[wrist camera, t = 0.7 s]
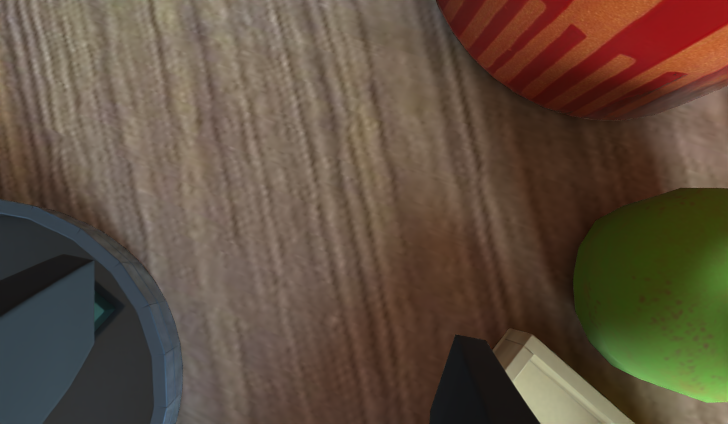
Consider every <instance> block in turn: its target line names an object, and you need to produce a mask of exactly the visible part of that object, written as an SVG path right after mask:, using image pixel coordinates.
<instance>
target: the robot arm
mask: <svg viewBox="0 0 728 424" xmlns="http://www.w3.org/2000/svg"><path fill="white" fill-rule="evenodd" d="M93 345H94V260H91V259H86V258H81V257H76V256H72V255H67V254H62V255H59V256H56V257H54V258H51V259H49V260H46V261H44V262H41V263H39V264H37V265H34V266H32V267H30V268H27V269H25V270H23V271H20V272H18V273H16V274H14V275H11V276H9V277H7V278H4V279H2V280H0V424H42V423H43V422H44V421H45V419H46V418H47V417H48V415H49V414H50V413H51V411H52V410H53V409H54V407H55V406H56V405H57V404H58V402H59V401H60V400H61V398H62V397H63V395H64V394H65V393H66V391H67V390H68V389H69V387H70V386H71V384H72V382H73V380H74V379H75V377H76V375H77V374H78V372H79V370H80V369H81V367H82V365H83V363H84V361H85V360H86V358H87V356H88V354H89V352H90V351H91V349H92V347H93ZM430 424H541V423H540V422H539V421H538V419H537V418H536V416H535V415H534V414H533V412H532V411H531V409H530V408H529V406H528V405H527V403H526V402H525V400H524V399H523V397H522V396H521V395H520V393H519V392H518V390H517V388H516V387H515V385H514V384H513V382H512V381H511V379H510V378H509V376H508V375H507V373H506V371H505V370H504V368H503V367H502V365H501V364H500V362H499V360H498V359H497V357H496V356H495V354H494V353H493V351H492V349H491V348H490V346H489V345H488V343H487V342H486V340H481V339H476V338H471V337H466V336H461V335H456V334H455V337H454V341H453V344H452V347H451V350H450V353H449V356H448V359H447V362H446V365H445V368H444V371H443V374H442V377H441V380H440V383H439V386H438V389H437V392H436V395H435V398H434V401H433V404H432V407H431V410H430Z"/></svg>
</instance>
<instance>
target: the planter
mask: <svg viewBox="0 0 728 424" xmlns="http://www.w3.org/2000/svg"><path fill="white" fill-rule="evenodd" d="M436 2H437V5H438V7H439V9H440V11H441V13H442V14H443V16H444V18H445V20H446V22H447V23H448V25H449V27H450V29H451V31H452V32H453V34H454V35H455V36H456V38H457V39H458V40H459V42H460V43H461V44H462V46H463V47H464V48H465V49H466V51H467V52H468V53H469V55H470V56H471V57H472V58H473V59H474V60H475V61H476V62H477V63H478V64H479V65H480V66H481V67H482V68H484V69H485V70H486V71H487V72H488V73H489V74H490V75H491V76H492V77H493V78H495V79H496V80H497V81H499V82H500V83H502V84H503V85H504V86H506V87H507V88H509V89H510V90H511V91H513V92H514V93H516V94H517V95H519V96H521V97H523V98H525V99H527V100H529V101H531V102H533V103H535V104H537V105H539V106H541V107H544V108H547V109H550V110H553V111H556V112H559V113H562V114H565V115H568V116H573V117H579V118H585V119H592V120H629V119H635V118H640V117H646V116H652V115H655V114H658V113H661V112H664V111H667V110H670V109H672V108H675V107H678V106H680V105H683V104H685V103H688V102H690V101H692V100H695V99H697V98H700V97H702V96H704V95H707V94H709V93H711V92H714V91H716V90H719V89H721V88H723V87H726V86H728V0H436Z"/></svg>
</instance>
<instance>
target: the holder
mask: <svg viewBox="0 0 728 424" xmlns="http://www.w3.org/2000/svg"><path fill="white" fill-rule="evenodd" d="M492 351H493V353H494V354H495V356H496V357H497V359H498V360H499V362H500V364H501V365H502V367H503V368H504V370H505V371H506V373H507V375H508V376H509V378H510V379H511V381H512V382H513V384H514V385H515V387H516V388H517V390H518V392H519V393H520V395H521V396H522V397H523V399H524V400H525V402H526V403H527V405H528V406H529V408H530V409H531V411H532V412H533V414H534V415H535V416H536V418H537V419H538V421H539V422H540V423H541V424H635V423H634V422H633V421H632V420H630V419H629V418H628V417H627V416H626V415H625V414H624V413H622V412H621V411H620V410H619V409H618V408H617V407H616V406H614V405H613V404H612V403H611V402H610V401H609V400H608V399H606V398H605V397H604V396H603V395H602V394H601V393H599V392H598V391H597V390H596V389H595V388H594V387H593V386H591V385H590V384H589V383H588V382H587V381H586V380H585V379H583V378H582V377H581V376H580V375H579V374H578V373H577V372H575V371H574V370H573V369H572V368H571V367H570V366H569V365H567V364H566V363H565V362H564V361H563V360H562V359H561V358H559V357H558V356H557V355H556V354H555V353H554V352H553V351H551V350H550V349H549V348H548V347H547V346H546V345H544V344H543V343H542V342H541V341H540V340H539V339H538V338H536V337H535V336H534V335H533V334H530V333H526V332H522V331H518V330H514V329H511V328H509V329H508V331H507V332H506V333H505V335H504V336H503V337H502V338H501V340H500V341H499V342H498V343H497V345H496V346H495V347H494V349H493V350H492Z"/></svg>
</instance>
